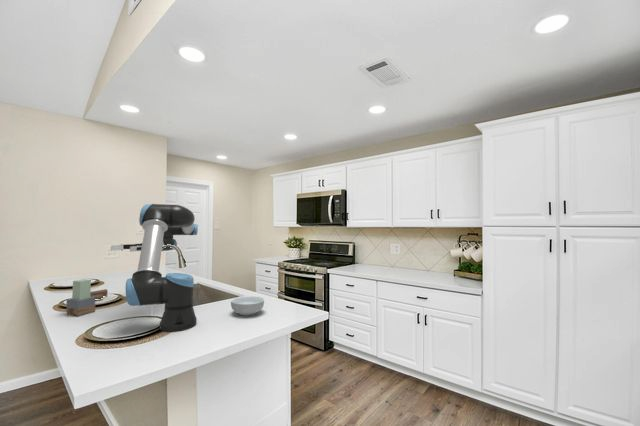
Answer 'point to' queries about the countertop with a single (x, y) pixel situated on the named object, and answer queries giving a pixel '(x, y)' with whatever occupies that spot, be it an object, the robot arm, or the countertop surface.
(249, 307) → the cereal bowl
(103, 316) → the countertop surface
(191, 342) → the countertop surface
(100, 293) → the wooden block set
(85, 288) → the green pillar
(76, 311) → the tower base
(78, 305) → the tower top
